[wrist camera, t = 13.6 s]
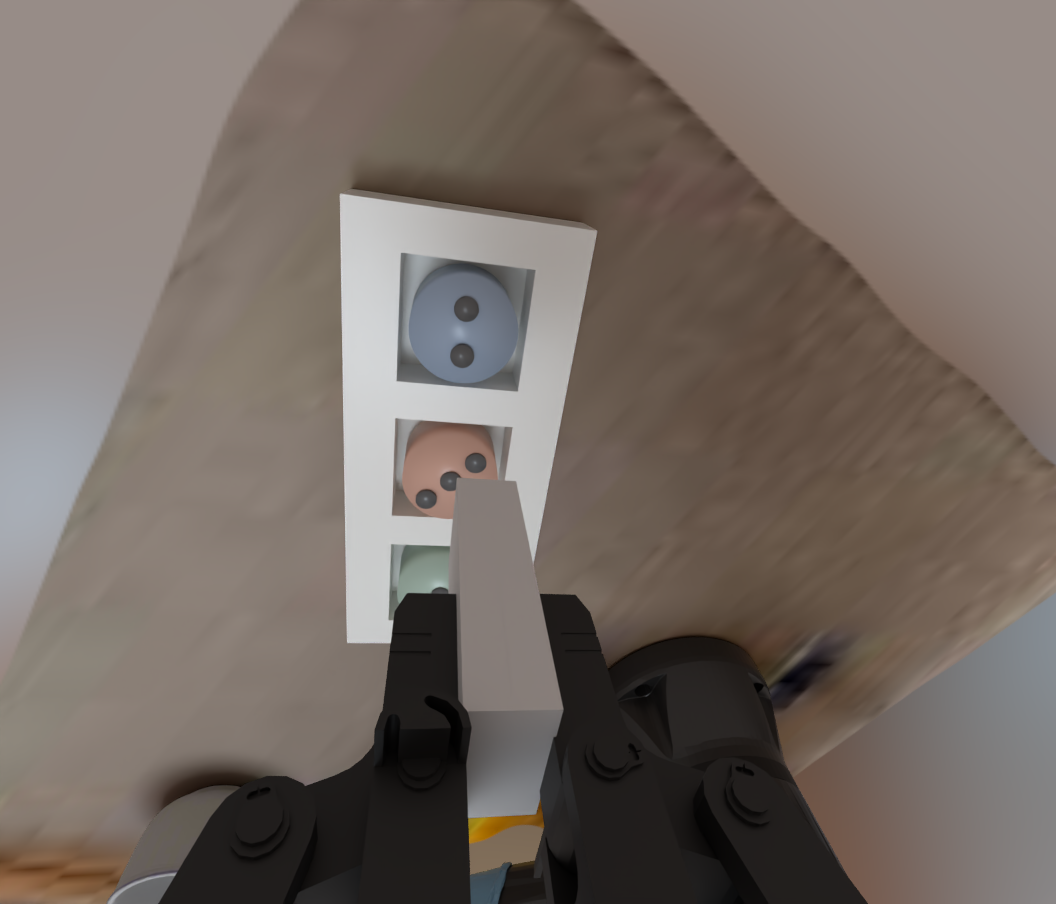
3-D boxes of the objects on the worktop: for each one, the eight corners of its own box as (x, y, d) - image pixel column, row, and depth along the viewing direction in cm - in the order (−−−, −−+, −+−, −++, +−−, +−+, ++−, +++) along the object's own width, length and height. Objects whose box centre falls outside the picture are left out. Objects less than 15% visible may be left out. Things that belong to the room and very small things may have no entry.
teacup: (150, 836, 47) (99, 957, 40) (156, 760, 42) (99, 882, 35) (319, 843, 50) (299, 954, 44) (341, 774, 46) (323, 886, 39)
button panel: (582, 222, 27) (597, 230, 24) (513, 610, 39) (518, 643, 36) (350, 188, 25) (339, 193, 22) (354, 608, 37) (347, 643, 34)
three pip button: (498, 416, 31) (503, 443, 28) (488, 491, 33) (492, 522, 30) (407, 409, 30) (403, 436, 27) (404, 487, 32) (400, 519, 29)
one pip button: (483, 531, 34) (486, 565, 32) (475, 591, 37) (477, 627, 34) (402, 528, 33) (398, 562, 31) (399, 589, 36) (395, 626, 33)
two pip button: (518, 270, 27) (526, 284, 24) (505, 366, 29) (511, 389, 26) (414, 257, 26) (410, 270, 23) (410, 357, 28) (405, 380, 25)
